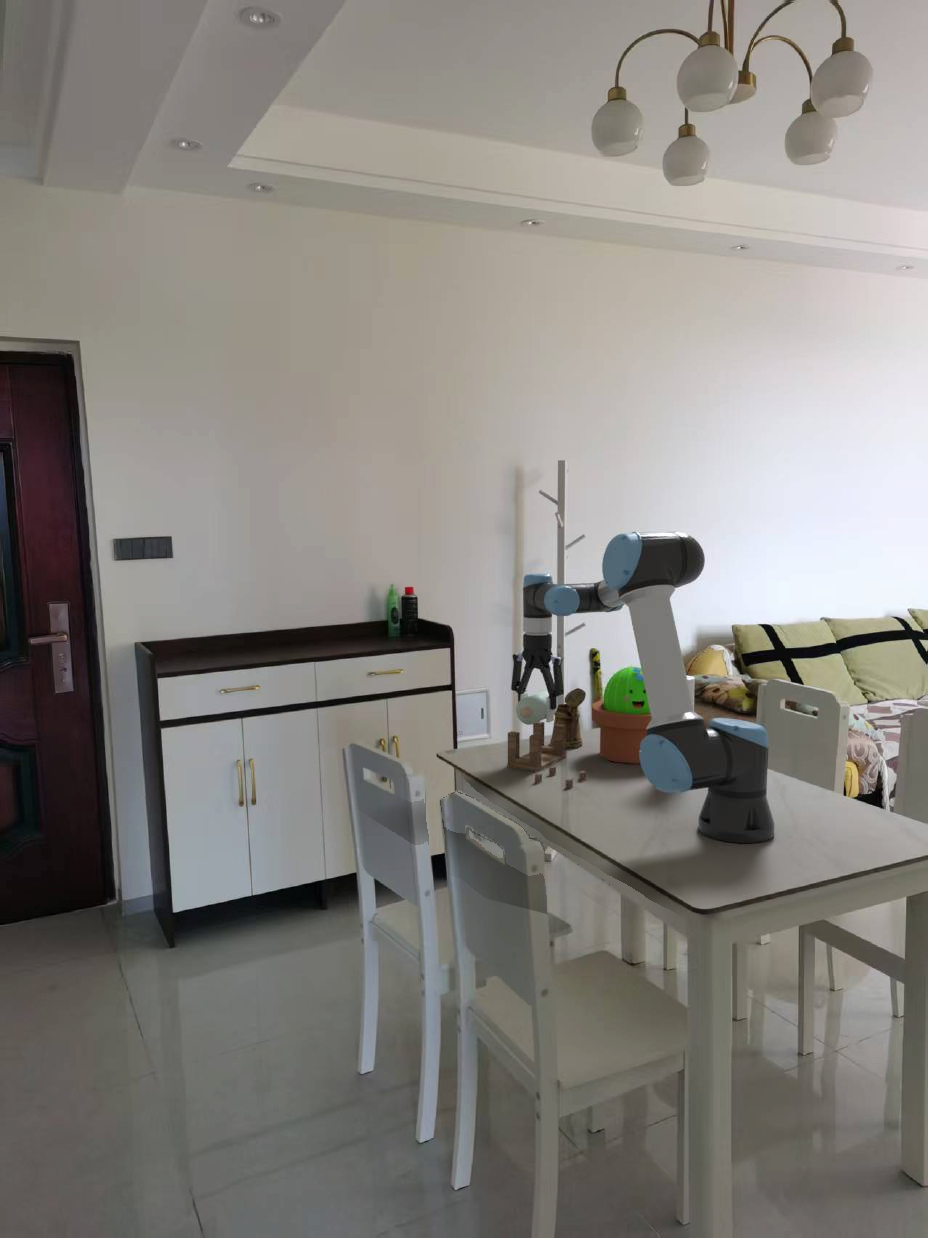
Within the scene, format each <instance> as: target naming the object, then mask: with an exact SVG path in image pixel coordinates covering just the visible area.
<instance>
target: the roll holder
mask: <svg viewBox="0 0 928 1238" xmlns="http://www.w3.org/2000/svg"><path fill="white" fill-rule="evenodd" d="M553 726H554V746H552V745H545V721H539V722H537V723H534V724H532V734H531V735H529V739H528V740H529V751H528V753H526V754H523V755H521V756H520V753H521V752H520V751H521V749H520V748H521V747H520V740H521V739H520V738H521V737H520V735H521V734H520V732H517V731H509V732H507V762H506V767H507V768H512V769H517V768H518V770H523V771H524V770H525V771H529V770H531V771H530V772H535V771H537V773H538V771H539V772H540V770H541V771H542V770H545V769H546V768H549V767H551V766H553V765H554V764H556V763H559V762H560V761H562V760H563V759H566V758H567V753H566V748H565V743H566V725H563V724H556V725H554V724H553ZM555 762H556V763H555ZM544 768H545V769H544Z"/></svg>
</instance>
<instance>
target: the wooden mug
mask: <svg viewBox="0 0 928 1238" xmlns="http://www.w3.org/2000/svg"><path fill="white" fill-rule="evenodd" d="M586 693H587V692H586V691H584V689H581V688H579V687H577V688H575V689H573V690H571V691H569V692H568V693H567V694H566V695H565V697H564V703H557V710H556V712H555V714H554V722H553V727H552V728H553V729H552V734H551V738H550V741H549V744H550V745H549V746H551V747H554V725H556V724H563V725H566V743H565V749H577V748H580V747H581V746H583V738H582V735H581V728H580V717H581V716H580V711H579V709H578V708H579V706H580V705H581V704H583V702H584V701H585V699H586V697H587V696H586ZM579 746H580V747H579ZM576 747H577V748H576Z"/></svg>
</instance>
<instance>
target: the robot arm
mask: <svg viewBox="0 0 928 1238" xmlns="http://www.w3.org/2000/svg"><path fill="white" fill-rule="evenodd" d="M705 562H706V559H705V552H704V550H703V548H702V545H701V544H700V543H699V542H698V541H697V540H696V539H695V538H694V537H693V536H691V535H689V534H688V533H685V532H679V531H665V532H664V531H659V532H658V531H657V532H653V531H651V532H643V531H642V532H639V531H632V532H627V533H619V534H616V535H614V537H613V538H611V539H610V541H609V542H608V543H607V546H606V548H605V551H604V553H603V557H602V564H601V568H602V569H601V570H602V577H603V579H602V580H600V581H598V582H589V583H584V582H583V583H560V584H559V583H554V582H553V577H552V575H551V574H549V573H538V572H537V573H527V574H525V575H524V576H523V586H522V616H523V617H522V631H523V632H524V633H523V635H522V647H523V650H522V652H516V653H513V654H512V661H513V667H512V668H513V669H512V676H511V677H512V678H511V685H510V686H511V687H510V689H511V691H513V692H514V691H515V693H517V703H518V702H519V701H520V700H521V699H524V698H526V697H529V693H528V692H527V687H528V685H529V682H530V678H531V676H532V672H533V671H534V670H535V669H537V670H539V671H540V673H541V674H542V677H543V681H544V683H545V686H546V690H547V692H548V693H549V696H548V697H547V698H546V709H547V711H546V719H545V722H546V723H551V722H553V721H554V720H555V715H554V709H556V707H557V705H558V701H557V700H558V697H559V696H562V695H564V681H563V679H564V678H563V670H562V664H563V660H564V659H563V657H562V656H555V655H554V653H553V652H552V646H553V635H552V634H551V632H552V631H553V616H556V617H569V616H571V615H573V614H589V613H611V612H616V611H617V612H618V611H620V610H622V609H623V606H627V607H628V611H629V615H630V619H631V625H632V631H633V634H634V639H635V645H636V649H637V654H638V659H639V660H638V661H639V664H640V668H641V670H642V674H643V679H644V684H645V689H646V694H647V699H648V704H649V709H650V714H651V718H652V719H651V721H650V723H649V724H648V726H647V728H646V732H647V737H645V738H644V739H643V740H642V742H641V744H640V748H641V750H640V751H639V758H640V763H641V764H640V767H641V770H642V771H643V774H644V776H645V777H646V779H647V780H648V782H649V783H650V784H651V785H652V786H653V787H654V788H656V789H657V790H658V791H660V792H664V793H683V792H688V791H695V790H700V789H701V790H703V789H706V788H707V793H706V796H705V800H704V802H703V804H702V807H701V810H700V812H699V815H698V825H697V826H698V830H699V831H700V833H702V834H703V835H705V836H707V837H709V838H712V839H716V840H719V841H722V842H728V843H738V844H755V843H762V842H765V841H769V840H771V839H772V838H774V837H775V821H774V817H773V815H772V811H771V809H770V807H771V806H770V805H769V801H768V797H767V795H768V793H767V787H768V769H769V768H768V765H769V749H770V746H769V733H768V731H767V729H766V728H765V727H764V726H762V725H760V724H758V723H755V722H750V721H748V720H741V719H736V718H735V719H734V718H729V717H728V718H726V717H725V718H724V717H714V718H711V719H710V720H709V724H708V728H706V724H705V719H704V717H703V716H701V715H700V714H698V713H696V711H695V708H694V709H693V704H692V699H691V695H690V690H689V686H688V681H687V676H688V675H687V673H686V667H685V664H684V659H683V658H684V657H683V654H682V649H681V645H680V640H679V635H678V632H677V626H676V622H675V617H674V616H675V615H674V613H673V607H672V603H671V597H672V595H673V594H674V592H675V591H676V589H678V588H681V587H683V586H686V585H689V584H691V583H693V582H695V581H696V580H697V579H698V578H699V577H700V575H701V574H702V572H703V570H704V568H705ZM523 660H524V661H525V663H524V667H523ZM550 662H551V664H552V669H551V666H550ZM522 667H523V673H522ZM551 670H553V672H551ZM552 673H553V674H552ZM686 675H687V676H686ZM768 839H769V840H768Z"/></svg>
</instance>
